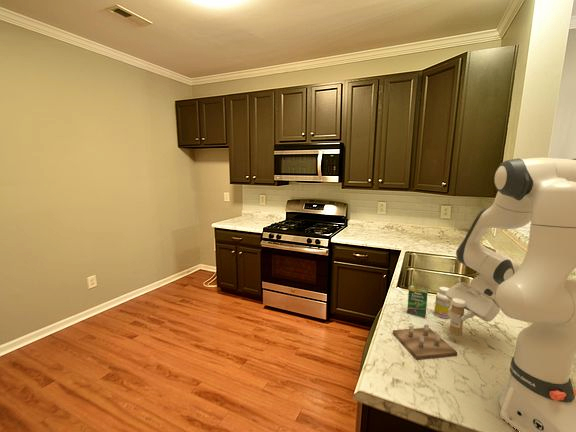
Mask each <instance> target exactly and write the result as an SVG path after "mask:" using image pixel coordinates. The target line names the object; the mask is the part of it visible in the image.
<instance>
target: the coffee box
mask: <svg viewBox="0 0 576 432" xmlns="http://www.w3.org/2000/svg"><path fill="white" fill-rule="evenodd" d="M428 294H429V289H428V288H426V287H419V286H415V285H409V286H408V294H407V311H406V313H407V314H409V315H413V316H417V317H421V318H426V316H427V305H428Z"/></svg>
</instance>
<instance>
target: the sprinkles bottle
mask: <svg viewBox="0 0 576 432" xmlns="http://www.w3.org/2000/svg"><path fill="white" fill-rule="evenodd" d="M465 305H466V302H465V301H464V300H462V299H458V298H453V299H452V309H451V316H450V317H449V329H448V332H449V333H450V334H452V335H453V336H454V335H456V336H462V335H463V329H464V328H463V327H464V321H462V320H461V319H460V318H459V316H461V314H463V315H464V314H465V310H466V309H465Z"/></svg>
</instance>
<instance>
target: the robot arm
mask: <svg viewBox="0 0 576 432" xmlns="http://www.w3.org/2000/svg"><path fill="white" fill-rule="evenodd" d="M493 180H494V182H493V183H494V186H495V189H496V190H497V193H496V196H495V198H494V201H493V203H492V205H491V206H490V207H485V208H483V209H482V210H481V211H480V212H479V213H478V214H477V215H476V217H475V218H474V220H473V222H472V224H471V226H470V228H469V230H468V231H467V233H466V235H465V237H464V239H463V240H462V242H461V243H460V244H459V245H458V247H457V249H456V252H455V255H456V259H457V261H458V262H459V263H460V264H463V265H465V266H466V267H469V268H470V269H472V270H473V271H475V272H477V273H479V274H478V275H477V276H475V277H474V278H473V279H472V280H471V281H470V282H469V283H466V282H464V281H461V282H457V283H456V284H454V285H452V286H451V287H449V290H447V291H446V293H445V295H446V296H447V297H448V299H450V300H451V301H452V299H453V298H458V299H462V300H464V301H465V302H466V305H465V309H464V310H466V311H467V313H464V315H463V314H461V316H459V318H460V319H461V320H462V321H463V322H465V321H467V320H468V319H471V318H474V317H475V316H476V317H478V318H479V319H480V320H482V321H484V322H486V323H488V322H492V321H493V320H494V319H495V318H496V317H497V316H498V315H499V313H500V311H501V312H502V313H503V315H505V316H506V317H508V318H510V319H513V320H516V321H521V322H525V323H531V324H530V325H529V326H527V327H525V328H523V329H522V330H520V331H519V333H518V335H517V338H516V343H515V349H514V356H512V357H511V361H510V365H509V373H510V374H509V378H508V381H507V384H506V386H505V388H504V391H503V392H502V393H501V395H500V396H499V399H498V403H499V406H500V413H499V417H500V418H501V420H503V419H504V420H505V421H504V420H503V421H504V422H505V423H507V424H508V423H509V424H510V425H509V424H508V425H509V426H510V427H512V428H513V427H514V428H515V429H514V428H513V429H514V430H516V429H517V430H518V431H520V432H576V389H574V387H573V383H572V380H571V378H570V377H571V376H570V375H571V372H572V367H573V364H574V361H575V357H576V279H568V278H569V276H570V275H571V273H573V271H574V270H576V158H571V159H570V158H562V157H561V158H560V157H559V158H557V157H547V156H546V157H528V158H522V159H521V158H519V157H518V158H513V159H512V158H511V159H509V160H508V159H507V160H504V161H503V162H501V163H500V164H499V165H498V166H497V168H496V170H495V173H494V179H493ZM528 224H530V227H529V236H528V237H529V238H528V245H527V249H526V253H525V256H524V258H523V260H522V262H521V264H520V266H519V265H518V263H517V262H516V261H515V260H514V259H513V258H511V257H510V256H507V255H502V254H500V253H498V252H497V251H494V250H493V249H490V248H488V247H486V246H485V245H483V243H482V242H481V240H482V238H483V236H484V235H485V234H486V231H487V230H488V228H489V229H490V228H491V229H500V230H515V229H519V228H523V227H525V226H526V225H528ZM451 309H452V304H451V307H450V308H449V309H448V311H449V312H450V313H451ZM517 430H516V431H517ZM518 431H517V432H518Z"/></svg>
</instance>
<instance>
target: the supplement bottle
mask: <svg viewBox="0 0 576 432" xmlns="http://www.w3.org/2000/svg"><path fill="white" fill-rule="evenodd" d="M438 288H439V289H438V290H439V291H438V292H437V293H436V294H435V304H434V314H435V315H436V316H437V317H439V318H444V319H448V318H449V319H450V317H451V313H450V312H449V311H448V309H449V308H450V307H451V304H452V301H451V300H450V299H448V297H447V296H446V295H445V293H446V291H447V290H449V289H450V287H446V286H440V287H438Z"/></svg>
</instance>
